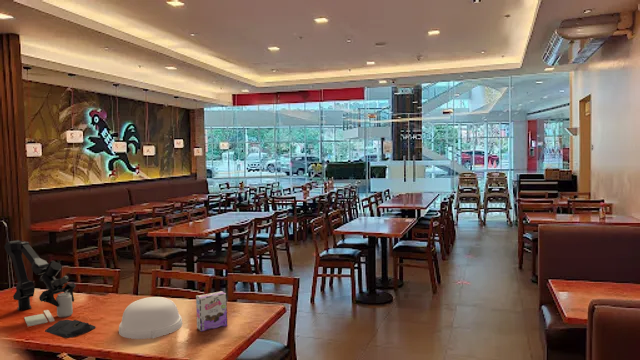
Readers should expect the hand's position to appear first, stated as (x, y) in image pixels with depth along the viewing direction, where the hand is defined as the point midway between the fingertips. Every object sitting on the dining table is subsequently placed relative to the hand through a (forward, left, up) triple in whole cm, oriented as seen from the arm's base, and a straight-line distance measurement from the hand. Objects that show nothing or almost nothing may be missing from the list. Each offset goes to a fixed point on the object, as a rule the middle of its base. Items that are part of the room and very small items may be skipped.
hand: (66, 303), depth 260 cm
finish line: (-6, -8, -7) cm, 12 cm away
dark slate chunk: (+25, -3, -7) cm, 26 cm away
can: (-1, -1, -7) cm, 7 cm away
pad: (-3, -14, -7) cm, 16 cm away
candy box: (+68, +53, -7) cm, 86 cm away
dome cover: (+48, +30, -7) cm, 57 cm away
